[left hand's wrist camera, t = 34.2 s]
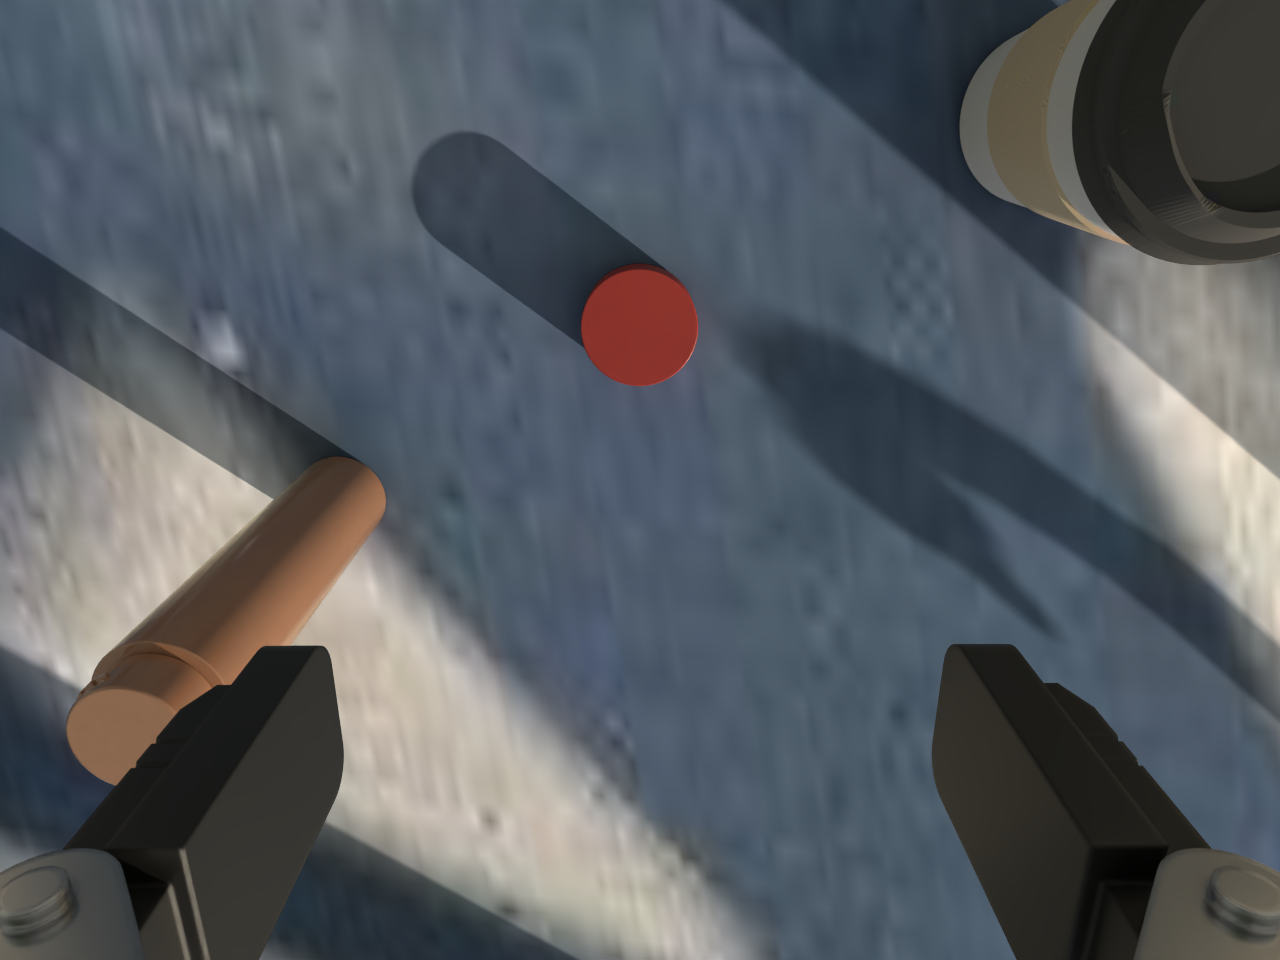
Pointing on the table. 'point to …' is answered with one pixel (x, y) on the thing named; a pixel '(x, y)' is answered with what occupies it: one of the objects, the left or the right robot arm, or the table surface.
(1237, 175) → the coffee cup
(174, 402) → the table surface
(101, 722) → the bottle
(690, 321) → the lid
